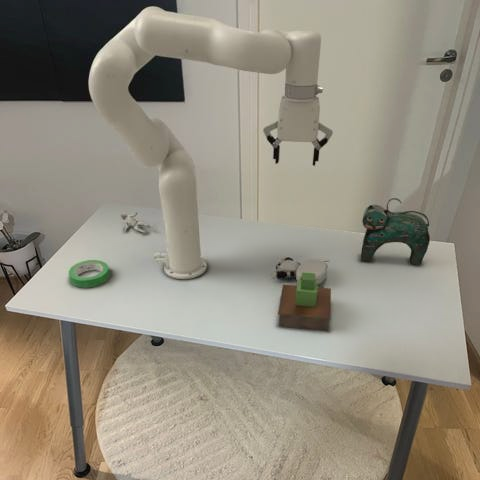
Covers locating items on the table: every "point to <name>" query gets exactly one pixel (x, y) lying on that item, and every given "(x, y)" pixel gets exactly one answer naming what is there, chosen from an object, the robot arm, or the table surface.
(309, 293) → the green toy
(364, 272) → the table surface
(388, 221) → the ceramic cat
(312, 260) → the robot toy
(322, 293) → the walnut plinth
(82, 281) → the tape roll
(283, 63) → the robot arm
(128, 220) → the soldier figure
